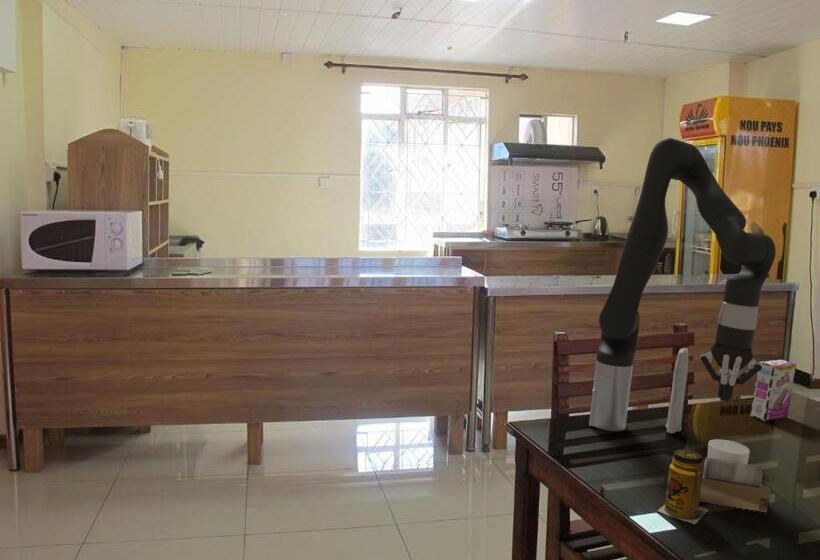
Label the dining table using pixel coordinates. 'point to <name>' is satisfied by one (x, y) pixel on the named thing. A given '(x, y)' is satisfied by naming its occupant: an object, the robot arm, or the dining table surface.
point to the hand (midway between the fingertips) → (723, 400)
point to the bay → (734, 485)
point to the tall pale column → (678, 392)
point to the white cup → (728, 451)
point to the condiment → (684, 487)
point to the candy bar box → (773, 390)
